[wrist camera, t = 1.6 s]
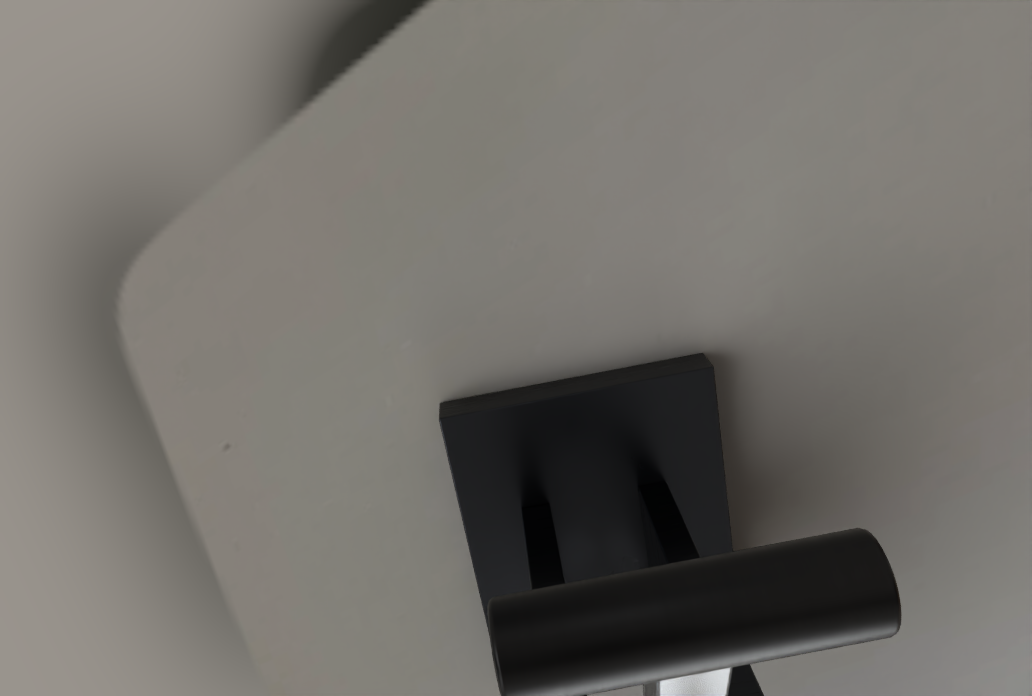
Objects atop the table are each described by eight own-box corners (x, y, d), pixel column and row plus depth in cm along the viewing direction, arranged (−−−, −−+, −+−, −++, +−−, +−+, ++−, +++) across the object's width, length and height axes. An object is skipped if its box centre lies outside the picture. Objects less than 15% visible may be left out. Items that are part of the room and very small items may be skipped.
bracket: (439, 402, 29) (425, 706, 16) (703, 352, 29) (901, 616, 16) (504, 681, 33) (534, 1098, 20) (734, 638, 33) (909, 1028, 20)
